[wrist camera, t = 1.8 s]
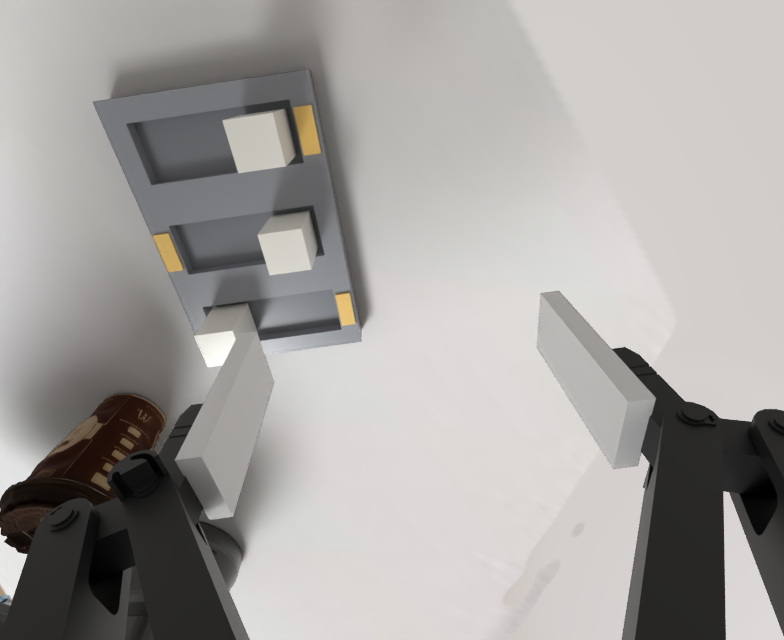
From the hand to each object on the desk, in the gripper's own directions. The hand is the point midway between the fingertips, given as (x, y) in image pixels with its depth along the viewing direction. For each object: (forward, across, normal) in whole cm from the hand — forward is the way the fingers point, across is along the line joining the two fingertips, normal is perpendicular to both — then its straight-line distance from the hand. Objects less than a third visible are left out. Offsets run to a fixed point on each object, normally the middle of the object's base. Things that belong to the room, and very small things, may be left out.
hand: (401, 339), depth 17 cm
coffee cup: (+19, -29, -17) cm, 38 cm away
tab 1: (+17, -14, -7) cm, 23 cm away
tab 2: (+17, -7, +7) cm, 20 cm away
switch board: (+18, -11, 0) cm, 21 cm away
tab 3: (+17, -7, 0) cm, 19 cm away
